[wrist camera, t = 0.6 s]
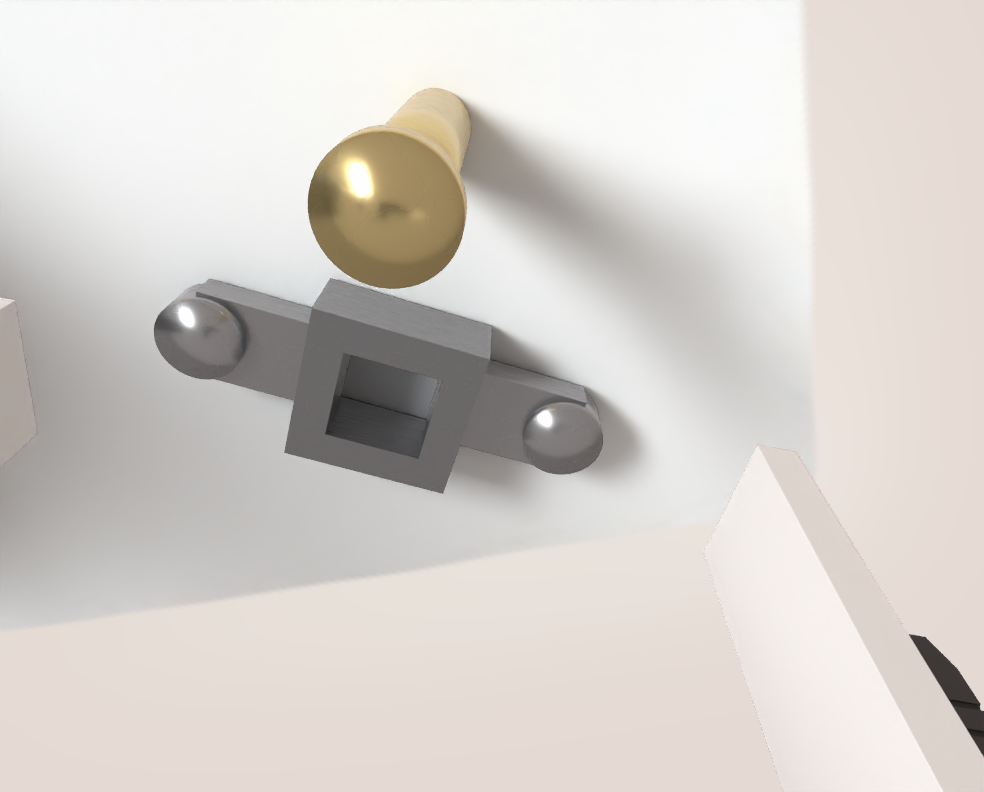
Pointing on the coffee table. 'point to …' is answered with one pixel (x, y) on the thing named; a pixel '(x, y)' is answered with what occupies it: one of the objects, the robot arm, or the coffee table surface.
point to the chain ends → (391, 341)
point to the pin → (395, 194)
